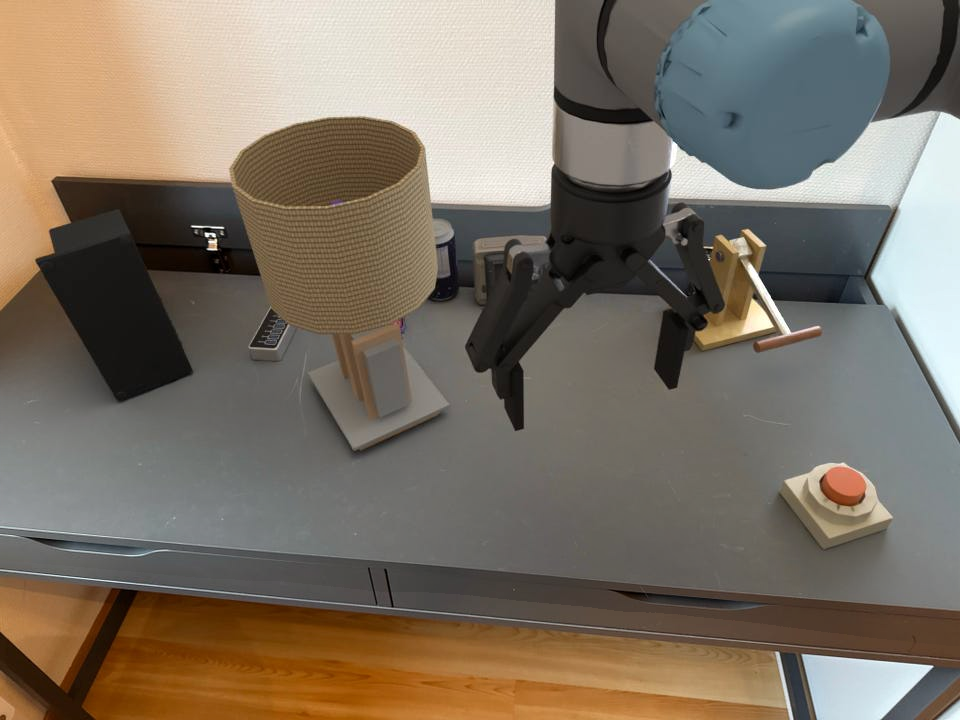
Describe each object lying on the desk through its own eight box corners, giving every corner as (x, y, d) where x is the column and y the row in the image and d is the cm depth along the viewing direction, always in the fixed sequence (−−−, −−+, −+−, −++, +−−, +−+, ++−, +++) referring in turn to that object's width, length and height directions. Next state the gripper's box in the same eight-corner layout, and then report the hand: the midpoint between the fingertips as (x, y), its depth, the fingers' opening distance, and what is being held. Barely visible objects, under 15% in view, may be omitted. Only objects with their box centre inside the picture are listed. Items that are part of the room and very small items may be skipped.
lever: (816, 340, 90) (825, 331, 88) (754, 356, 89) (762, 347, 87) (758, 242, 97) (766, 231, 95) (700, 256, 96) (706, 245, 94)
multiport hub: (251, 359, 102) (246, 347, 100) (284, 297, 112) (281, 286, 111) (280, 361, 101) (276, 349, 100) (311, 299, 112) (308, 287, 110)
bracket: (777, 331, 101) (802, 251, 91) (702, 351, 98) (720, 271, 89) (738, 291, 108) (758, 213, 98) (667, 309, 106) (681, 230, 96)
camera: (546, 283, 112) (547, 229, 105) (550, 306, 107) (551, 251, 101) (474, 288, 112) (471, 234, 105) (475, 310, 107) (471, 256, 101)
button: (869, 500, 75) (874, 490, 74) (837, 510, 74) (842, 500, 73) (844, 471, 78) (849, 461, 77) (813, 481, 77) (817, 471, 76)
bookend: (89, 315, 111) (14, 181, 95) (158, 291, 115) (98, 158, 99) (117, 405, 96) (34, 264, 80) (195, 374, 100) (132, 233, 84)
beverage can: (466, 294, 111) (461, 229, 102) (435, 308, 108) (428, 242, 100) (447, 277, 114) (440, 212, 106) (417, 290, 112) (408, 225, 104)
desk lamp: (478, 416, 92) (460, 169, 68) (339, 481, 85) (264, 233, 61) (411, 334, 104) (376, 101, 80) (285, 385, 97) (205, 148, 73)
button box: (886, 529, 77) (899, 507, 74) (823, 550, 75) (834, 528, 72) (838, 473, 82) (849, 451, 80) (778, 491, 81) (787, 470, 78)
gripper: (753, 106, 49) (702, 335, 63) (404, 173, 44) (435, 403, 59) (822, 153, 44) (749, 391, 58) (434, 234, 39) (459, 471, 54)
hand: (591, 398), depth 59 cm, fingers open, 13 cm apart
